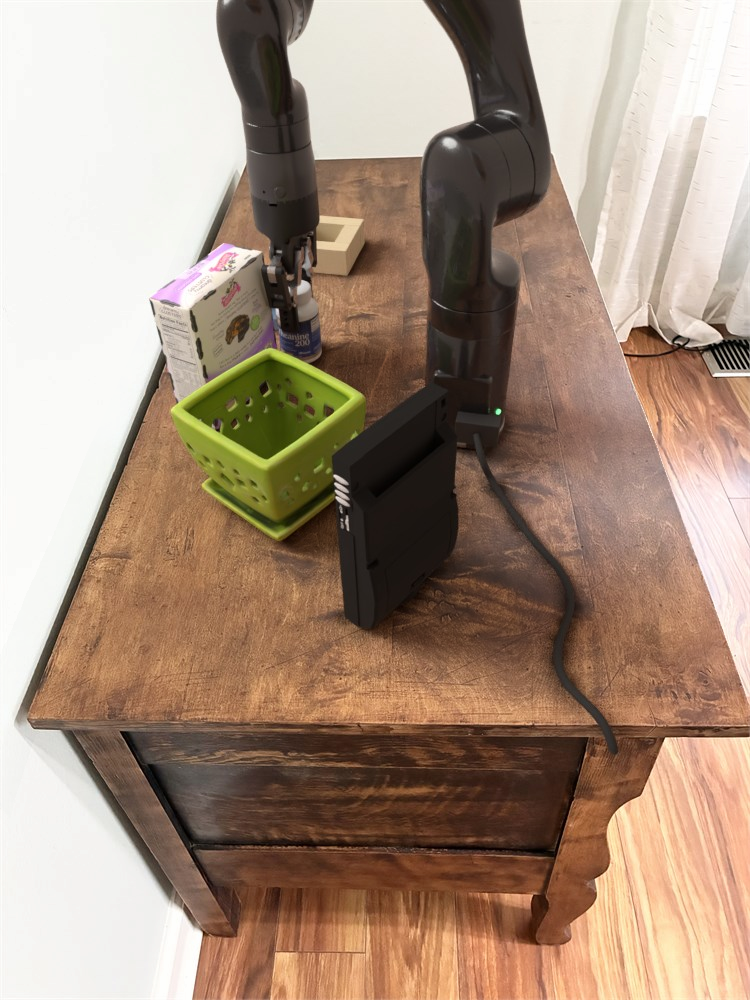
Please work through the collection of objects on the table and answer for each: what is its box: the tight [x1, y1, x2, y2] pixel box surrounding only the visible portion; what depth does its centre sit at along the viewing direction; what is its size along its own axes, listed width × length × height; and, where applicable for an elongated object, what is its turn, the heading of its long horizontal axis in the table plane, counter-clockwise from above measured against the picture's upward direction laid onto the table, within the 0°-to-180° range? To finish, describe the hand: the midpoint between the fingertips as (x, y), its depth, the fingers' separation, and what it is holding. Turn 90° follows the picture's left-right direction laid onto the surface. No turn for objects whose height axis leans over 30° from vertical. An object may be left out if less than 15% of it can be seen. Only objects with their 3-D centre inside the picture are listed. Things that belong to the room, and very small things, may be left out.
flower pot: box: [170, 348, 367, 542], centre depth 76 cm, size 14×14×13 cm
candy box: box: [148, 242, 278, 431], centre depth 88 cm, size 14×6×16 cm, turn 152°
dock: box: [312, 215, 366, 276], centre depth 117 cm, size 11×11×4 cm
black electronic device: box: [332, 382, 460, 630], centre depth 64 cm, size 12×5×20 cm, turn 139°
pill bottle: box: [276, 280, 323, 364], centre depth 96 cm, size 5×5×10 cm
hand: (297, 317), depth 95 cm, fingers closed on pill bottle, 5 cm apart
